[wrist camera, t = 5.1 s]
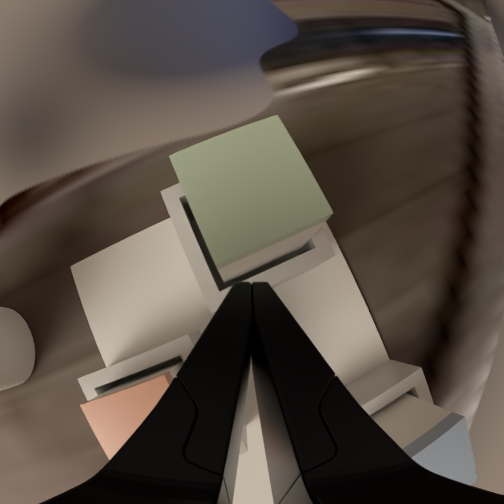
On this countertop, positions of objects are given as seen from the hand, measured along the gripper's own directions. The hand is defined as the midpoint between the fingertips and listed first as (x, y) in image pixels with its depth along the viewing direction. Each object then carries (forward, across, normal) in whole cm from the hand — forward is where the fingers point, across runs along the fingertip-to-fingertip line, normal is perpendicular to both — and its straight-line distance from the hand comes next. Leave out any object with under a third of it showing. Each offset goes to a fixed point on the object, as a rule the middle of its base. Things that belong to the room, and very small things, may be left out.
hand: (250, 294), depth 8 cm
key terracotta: (+3, +4, +12) cm, 13 cm away
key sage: (+9, 0, +3) cm, 10 cm away
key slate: (0, -8, +12) cm, 15 cm away
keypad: (+5, 0, +12) cm, 13 cm away
